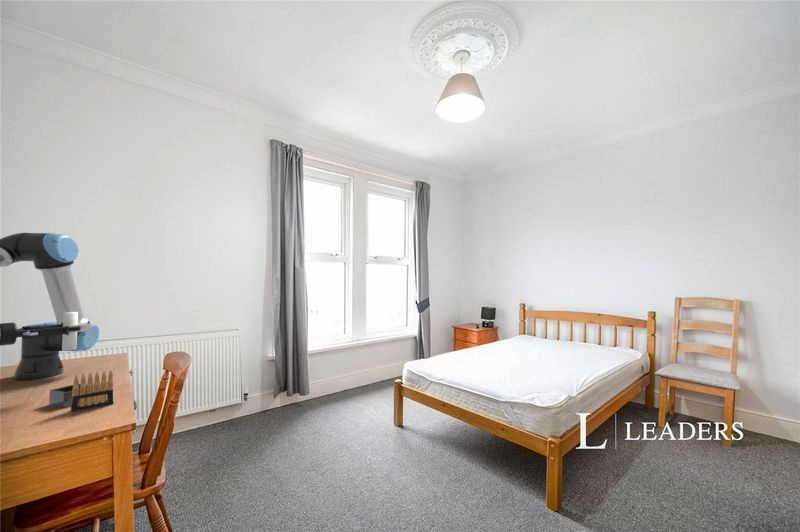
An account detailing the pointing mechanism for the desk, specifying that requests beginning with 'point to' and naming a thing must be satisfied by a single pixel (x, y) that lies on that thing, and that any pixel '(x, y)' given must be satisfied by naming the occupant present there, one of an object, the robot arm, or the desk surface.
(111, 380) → the ammunition clip
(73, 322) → the cylinder
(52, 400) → the square open box
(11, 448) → the desk surface
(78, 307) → the robot arm
